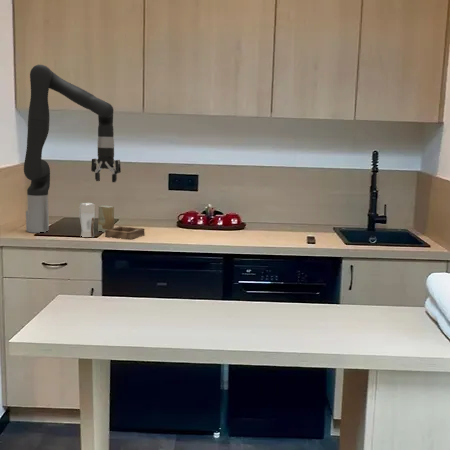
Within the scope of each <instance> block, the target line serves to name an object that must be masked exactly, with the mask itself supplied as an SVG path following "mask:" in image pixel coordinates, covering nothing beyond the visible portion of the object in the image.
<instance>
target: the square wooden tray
mask: <svg viewBox="0 0 450 450" xmlns="http://www.w3.org/2000/svg"><path fill="white" fill-rule="evenodd" d="M145 230H146V229H145V228H141V227H131V226H121V225H119V226H116V227H114V228H112V229H108V230H105V232H104V236H105V238H110V237H112V239H120V238H121V239H120V240H129V241H130V240H133V239H136V238H139V237H142V235H143V236H145Z"/></svg>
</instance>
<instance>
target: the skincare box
mask: <svg viewBox="0 0 450 450" xmlns="http://www.w3.org/2000/svg"><path fill="white" fill-rule="evenodd" d="M97 213H98V214H97V215H98V216H97V217H98V220H97V221H98V224H97V226H98V227H97V231H98V232H99V231H102V232H101V233H105V230H108V229H112V228H115V227H114V223H115V221H114V220H115V206H111V205H105V204H104V205H99V206H98V212H97Z"/></svg>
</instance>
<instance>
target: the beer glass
mask: <svg viewBox="0 0 450 450" xmlns="http://www.w3.org/2000/svg"><path fill="white" fill-rule="evenodd" d="M95 206H96V204H95V203H94V202H80V203H79V211H78V212H79V213H78V215H79V220H80V221H79V222H80V226H81V227H80V228H81V231H80V233H81V234H80V237H81V236H82V237H92V238H95V231H94V226H95V220H96V207H95ZM82 237H81V238H82Z"/></svg>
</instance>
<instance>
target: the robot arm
mask: <svg viewBox="0 0 450 450" xmlns="http://www.w3.org/2000/svg"><path fill="white" fill-rule="evenodd" d="M29 81H30V101H29V107H28V115H27V116H28V118H27V134H26V136H27V137H26V149H25V156H24V157H25V158H24V164H23V172H24V173H23V174H24V175H25V177H26V178H27V179H28V180H29V181H30V185H29V186H28V188H27V190H26V191H27V192H26V194H27V197H26V198H27V210H26V211H25V228H26V229H25V231H26V232H28V233H32V234H41V233H40V232H44V233H47V232H46V231H48V230H49V231H50V229H49V228H50V226H49V225H50V223H49V222H50V221H49V220H50V218H49V215H50V214H49V190H50V186H51V167H50V165H49V163H48V162H47V161H46V160H44V159H42V155H43V148H44V145H45V143H46V140H47V137H48V135H49V131H50V108H49V107H50V106H49V90H53V91H55V92H56V93H59V94H61V95H62V96H64V97H65V98H67V99H69V100H70V101H72V102H73V103H75V104H77V105H79V107H80V106H81V107H82V108H84V109H86V110H89V111H91V112H93V114H94V113H95V115H97V117H98V118H97V119H98V127H97V158H92V159H91V172H93V173H94V177H95V178H94V179H95V181H96V182H100V180H101V171H102V170H104V169H106V170H109V171H111V173H112V174H111V183H116V182H117V179H118V177H117V176H118V174H120V173H121V171H122V170H121V160H120V159H114V158H115V139H114V136H115V135H114V125H113V124H114V106H113V105H112V104H111V103H109V102H108V101H105V100H103V99H101V98H99V97H97V96H95V95H94V94H93V93H90V92H89V91H87V90H85V89H83V88H81V87H80V86H77V85H75V84H73V83H71V82H69V81H67V80H65V79H64V78H62V77H60V76H58V75H57V74H56V73H55V72H54V71H52V70H51V69H50V68H49V67H48V66H47V65H44V64H37V65H34V66H33V67H32V68H31V70H30V72H29ZM97 164H98V165H97ZM114 165H115V166H114ZM49 231H48V232H49Z"/></svg>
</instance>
